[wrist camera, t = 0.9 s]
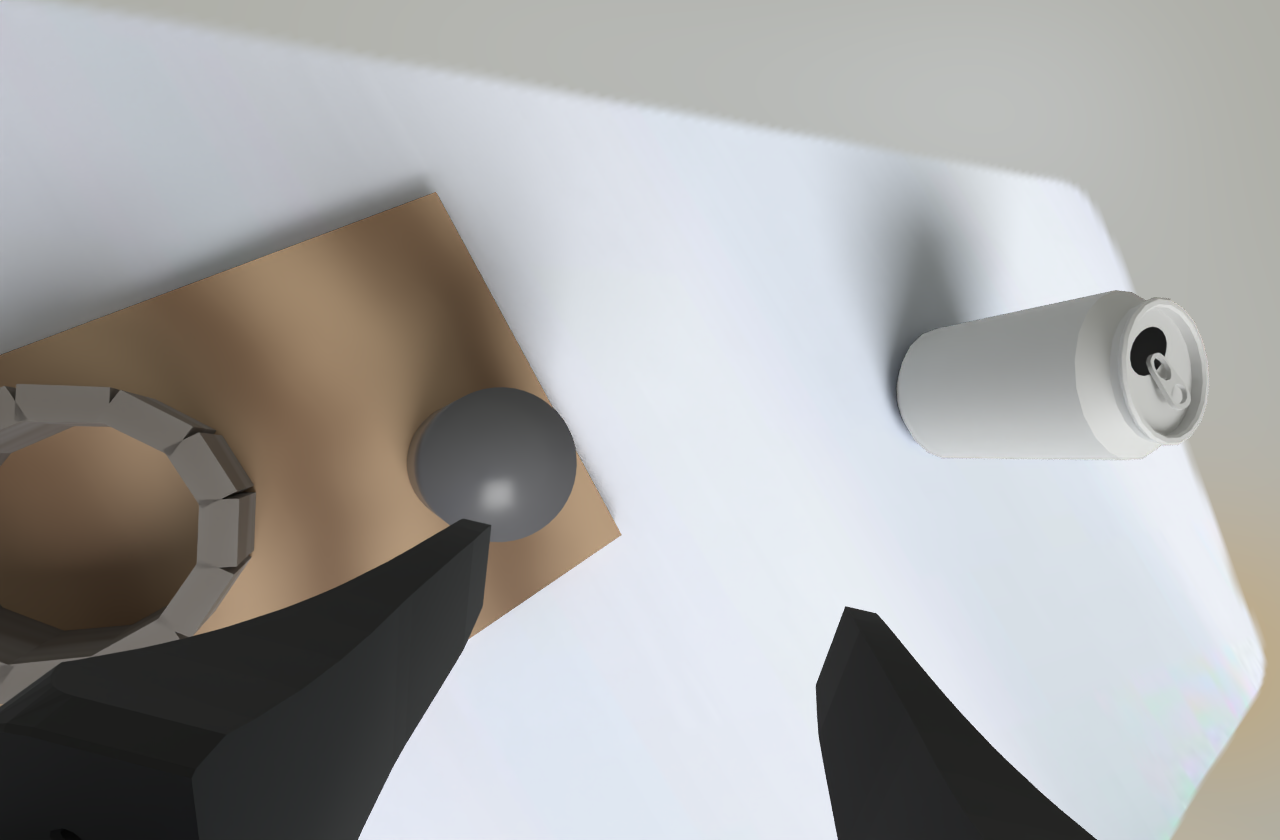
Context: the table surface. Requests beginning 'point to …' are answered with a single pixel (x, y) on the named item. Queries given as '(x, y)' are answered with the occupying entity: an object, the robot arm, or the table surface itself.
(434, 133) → the table surface
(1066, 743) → the table surface
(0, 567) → the barrel mount
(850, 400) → the table surface
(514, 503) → the dark gray cylinder
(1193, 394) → the can
